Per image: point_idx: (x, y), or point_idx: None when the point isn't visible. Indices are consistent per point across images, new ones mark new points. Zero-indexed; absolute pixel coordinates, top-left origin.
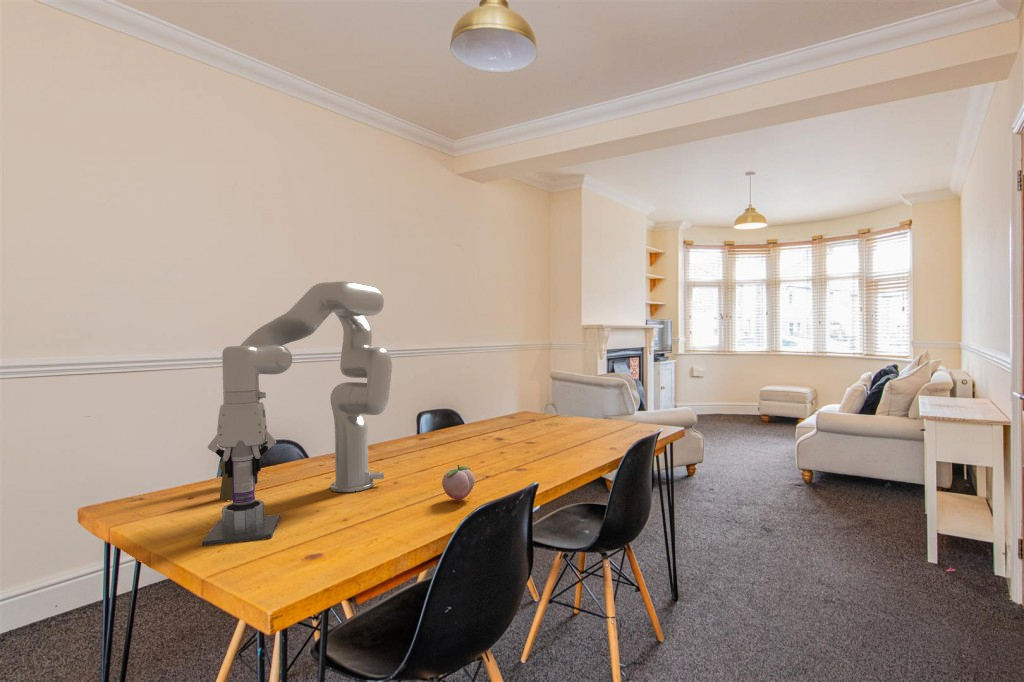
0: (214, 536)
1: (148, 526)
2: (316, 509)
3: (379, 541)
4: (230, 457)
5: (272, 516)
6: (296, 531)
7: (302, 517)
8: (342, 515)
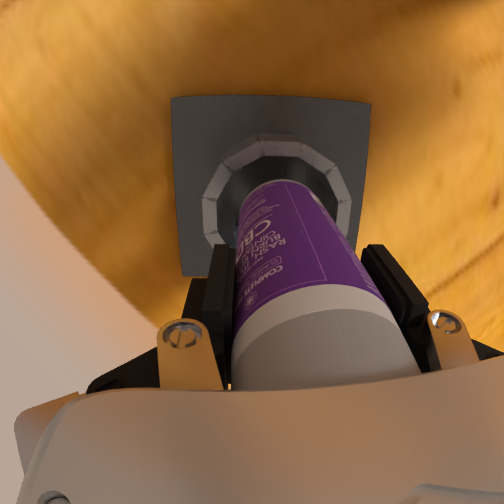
0: (203, 250)
1: (5, 86)
2: (453, 74)
3: (491, 329)
4: (223, 385)
5: (348, 119)
6: (403, 241)
7: (423, 129)
8: (497, 165)
